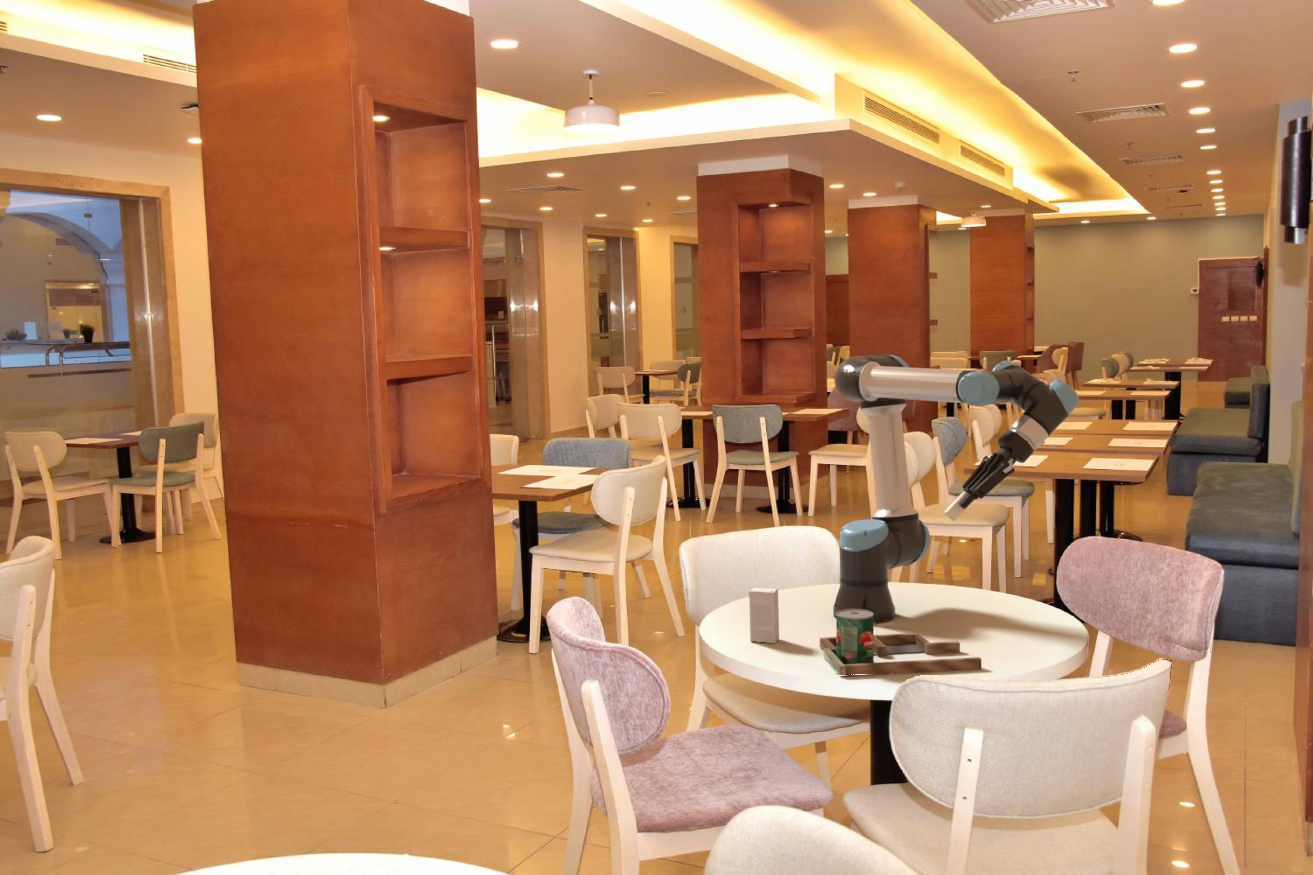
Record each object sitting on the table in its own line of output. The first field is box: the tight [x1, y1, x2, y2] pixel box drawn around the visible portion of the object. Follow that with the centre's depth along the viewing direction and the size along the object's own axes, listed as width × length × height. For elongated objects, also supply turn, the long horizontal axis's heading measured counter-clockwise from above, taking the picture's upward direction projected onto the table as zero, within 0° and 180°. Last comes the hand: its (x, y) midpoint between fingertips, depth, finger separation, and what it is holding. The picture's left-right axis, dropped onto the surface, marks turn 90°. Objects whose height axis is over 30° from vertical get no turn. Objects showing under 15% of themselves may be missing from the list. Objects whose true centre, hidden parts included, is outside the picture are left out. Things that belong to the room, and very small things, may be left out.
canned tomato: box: [835, 609, 875, 664], centre depth 238 cm, size 8×8×11 cm
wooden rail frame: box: [819, 632, 982, 675], centre depth 242 cm, size 30×22×2 cm
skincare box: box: [748, 587, 780, 644], centre depth 257 cm, size 6×4×12 cm
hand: (949, 516), depth 249 cm, fingers closed
